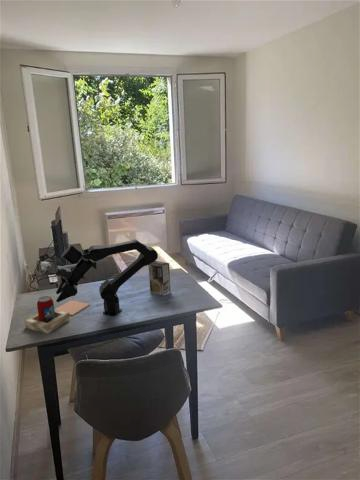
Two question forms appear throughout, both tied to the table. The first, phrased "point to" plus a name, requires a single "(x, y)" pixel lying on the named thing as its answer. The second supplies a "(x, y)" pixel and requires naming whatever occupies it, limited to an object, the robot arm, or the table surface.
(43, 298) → the beverage can
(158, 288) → the coffee box
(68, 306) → the mat
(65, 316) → the holder
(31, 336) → the table surface
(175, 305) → the table surface
